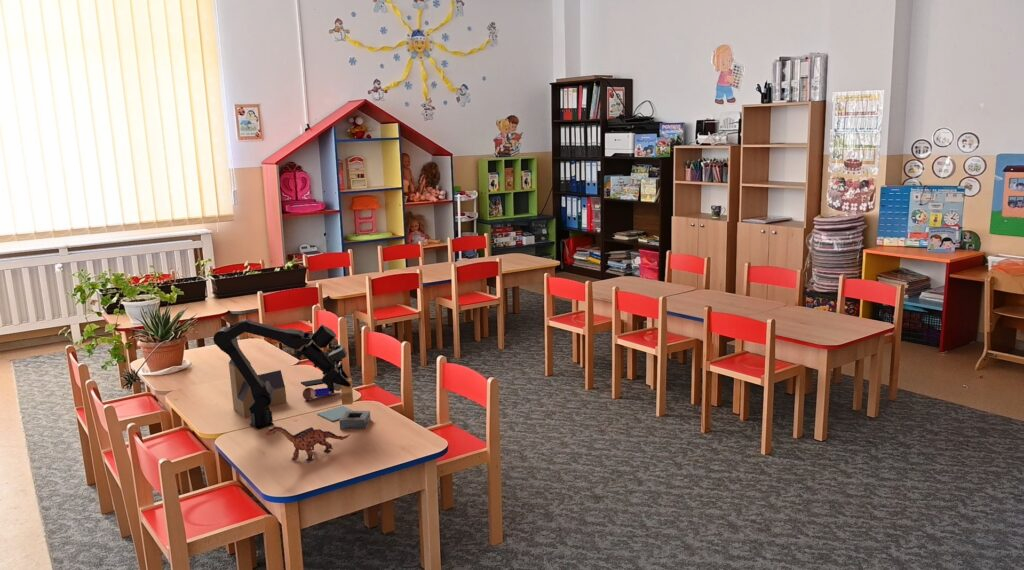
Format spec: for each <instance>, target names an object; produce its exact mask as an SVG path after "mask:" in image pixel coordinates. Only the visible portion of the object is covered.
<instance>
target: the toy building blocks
mask: <svg viewBox="0 0 1024 570" xmlns="http://www.w3.org/2000/svg"><path fill="white" fill-rule="evenodd" d="M247 360H248V361H249V359H248V358H247ZM249 363H250V364H251V365H252V363H251V362H250V361H249ZM228 369H229V376H230V388H231V396H232V407H233V410H234V411H235V412H237V413H238V414H239V415H240V416H242V417H243V418H244V419H248V418H251V412H250V410H249V408H250V406H251V405H252V403H253V401H254V399H253V397H252V393H251V389H250V386H249V385H248V383H247V382H246V381H245V379H244V378H243V376H242V375H241V373H240V372H239V370H238V369H237V367H236V366H235V364H234V363H233V361H232V360H231V359H230V360H229V361H228ZM257 375H258V376H259V378H260V379H261V380H262V381H263V382H267V381H269V383H270V385H271V386H272V388H274V398H273V400H272V402H271V404H270V405H269V406H268V407H272V406H276V405H280V404H283V403H287V394H286V386H285V381H284V376H283V373H282V371H281V369H279V370H274V371H270V372H265V373H261V374H257Z"/></svg>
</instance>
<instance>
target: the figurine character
mask: <svg viewBox="0 0 1024 570" xmlns="http://www.w3.org/2000/svg"><path fill="white" fill-rule="evenodd" d="M300 384H301V385H303V386H304V387H305V388H304V390H303V391H302V397H303V399H305V400H306V401H312V400H313V399H314V398H317V397H326V396H331V397H332V396H336V395H337V394H336V393H335V391H336V392H339V391H340V392H341V385H339V384H335V383H328V384H327V385H326V387H322V388H312V387H313V386H318V385H319V386H321V385H325V384H324V383H323V382H322V378H318V379H312V380H304V381H301V382H300Z"/></svg>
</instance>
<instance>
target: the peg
mask: <svg viewBox="0 0 1024 570" xmlns="http://www.w3.org/2000/svg"><path fill="white" fill-rule="evenodd" d="M345 379H346V380H347V381H348V382H349V383H350V384H351V385H350V386H349V387H346V386H343V385H341V390H340V392H341V393H340V394H341V406H345V405H346V406H347V405H353V403H354V395H353V394H354V393H353V380H352V377H349V378H345Z"/></svg>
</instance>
